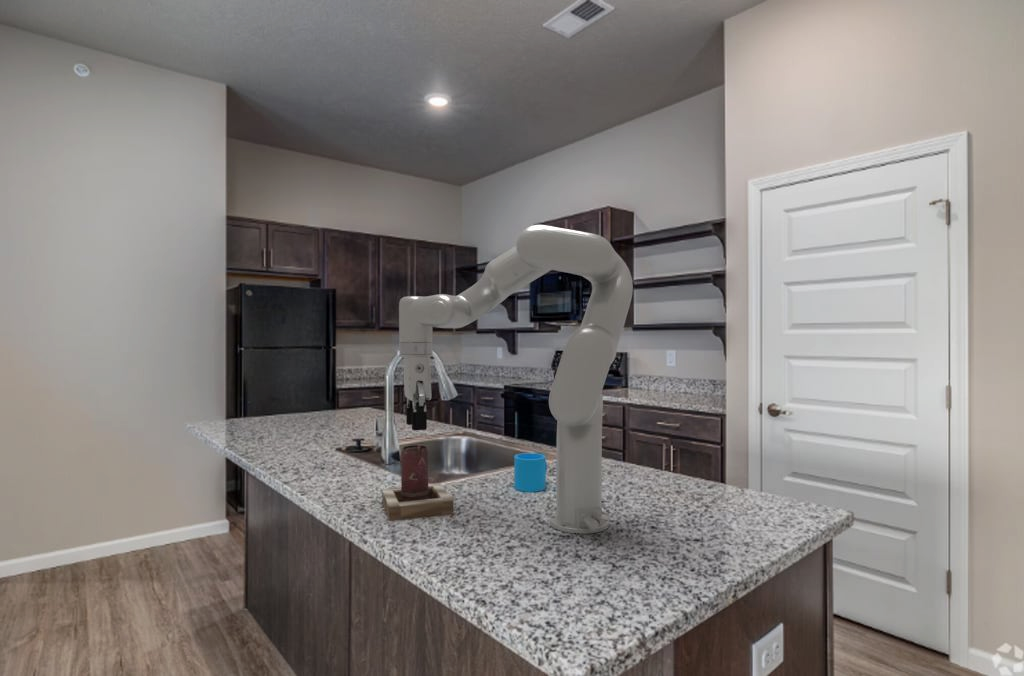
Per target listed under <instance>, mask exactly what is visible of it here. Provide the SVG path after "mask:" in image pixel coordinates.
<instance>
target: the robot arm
mask: <svg viewBox="0 0 1024 676" xmlns="http://www.w3.org/2000/svg"><path fill="white" fill-rule="evenodd" d="M552 270H553V271H557V272H563V273H568V274H572V275H577V276H581V277H583V278H584V279H586V280H588V281H589V282H590V283H591V294H590V297H589V299H588V302H587V305H586V308H585V313H584V315H583V318H582V320H581V324H580V326H579V328H577V329H576V330H575V331H573V332H572V333H571V334H570V336H569V337H568V339H567V341H566V343H565V345H564V348H563V351H562V353H561V357H560V360H559V363H558V366H557V370H556V372H555V375H554V379H553V383H552V384H551V388H550V391H549V396H548V406H549V407H548V408H549V410H550V413H551V415H552V416H553V418H554V419H555V420H556V421H557V422H556V423H557V424H556V512H554V513H552V514H551V515H550V516H549V518H548V519H549V521H548V522H549V525H550V527H552V528H554V529H556V530H558V531H560V532H563V533H567V532H568V534H574V533H576V534H577V533H579V534H577V535H588V534H590V533H591V534H597V533H600V532H603V531H606V530H607V529H608V528H609V527H610V519H609V517H608V516H607V515H605V514H603V513H602V512H603V507H602V505H603V504H602V503H603V499H602V498H603V497H602V496H603V494H602V493H603V491H602V490H603V488H602V487H603V485H602V482H603V481H602V479H603V478H602V477H603V475H602V473H603V472H602V471H603V470H602V468H603V466H602V464H603V461H602V457H603V456H602V453H603V450H602V449H603V448H602V446H603V445H602V444H603V440H602V439H603V436H602V435H603V415H604V414H603V413H604V412H603V411H604V398H603V393H602V391H603V389H604V386H605V384H606V379H607V377H608V374H609V371H610V367H611V365H612V364H613V362H614V361H615V359H616V356H617V352H618V346H619V343H620V340H621V337H622V332H623V331H624V327H625V323H626V320H627V317H628V313H629V309H630V306H631V302H632V297H633V293H634V292H633V291H634V290H633V289H634V286H633V279H632V274H631V272H630V268H629V267H628V266H627V263H626V262H625V261H624V259H623V258H622V257H621V256H620V255H619V254H618V253H617V252H616V251H615V249H614V247H613V246H612V244H611V243H610V242H609V240H608V239H606V238H605V237H603V236H601V235H599V234H596V233H593V232H592V233H591V232H587V231H581V230H575V229H568V228H562V227H558V226H553V225H546V224H533V225H530V226H527V227H526V228H524V229H523V230H522V231H521V232H520V234H519V235H518V237H517V239H516V244H515V246H513V247H511V248H510V249H508V250H507V251H505V252H503V253H502V254H500V255H499V256H497V257H496V258H494V259H492V260H491V261H489V262H488V263H487V264H486V266H485V269H484V272H483V274H482V276H481V278H480V279H479V280H478V281H477V282H476V283H474V284H473V285H472V286H470V287H468V288H467V289H465V290H464V291H462V292H460V293H459V294H458V295H451V294H446V293H441V294H440V293H439V294H438V293H437V294H434V295H428V296H418V295H416V296H415V295H411V296H409V295H407V296H403V297H402V298H400V300H399V305H398V325H399V326H398V329H399V330H398V332H399V334H398V335H399V337H398V341H399V342H398V343H399V344H398V345H399V347H398V348H399V349H398V351H399V352H398V353H399V357H400V358H404V359H403V361H404V362H403V386H404V387H403V391H404V397H405V398H406V408H405V409H406V420H405V421H406V425H408V426H411V430H412V431H414V432H415V431H426V430H427V428H428V426H427V425H428V423H427V422H428V420H427V419H428V418H427V416H428V415H427V404H426V400H427V401H431V400H432V379H431V361H430V357H433V327H434V328H440V329H460V328H464V327H465V326H467V325H470V324H471V323H473V322H475V321H476V320H478V319H479V318H482V317H484V316H485V315H487V314H488V313H489V312H491V311H492V310H493V309H495V308H496V307H497V306H499V305H500V304H502V302H504V301H506V299H507V298H508V297H509V296H511V295H512V294H515V293H516V292H517V291H519V290H521V289H522V288H524V287H526V286H528V285H529V284H531V283H532V282H533V281H535V280H537V279H538V278H540V277H542V276H544V275H545V274H547V273H549V272H550V271H552ZM576 534H575V535H576Z"/></svg>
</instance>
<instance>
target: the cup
mask: <svg viewBox="0 0 1024 676" xmlns="http://www.w3.org/2000/svg"><path fill="white" fill-rule="evenodd" d="M428 450H429V449H428V448H427V446H426V445H422V444H418V445H417V444H416V445H415V444H413V445H407V446H404V447H402V450H401V451H400V453H401V454H400V455H401V456H400V457H401V461H400V462H401V468H400V470H401V471H400V473H401V474H400V475H401V476H400V477H401V478H400V479H401V483H400V484H401V502H406V501H416V500H426V499H428V485H429V451H428Z"/></svg>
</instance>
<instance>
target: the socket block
mask: <svg viewBox="0 0 1024 676" xmlns="http://www.w3.org/2000/svg"><path fill="white" fill-rule="evenodd" d="M381 494H382V495H381V497H382V498H381V499H382V500H381V502H382V506H383V508H384V511H385V514H386V517H387V519H388V521H391V522H393V521H402V520H411V519H422V518H430V517H441V516H450V515H452V516H453V515H454V498H453V497H452V496H451V495H450V494H449V493H448V491H447V490H446V489H445V488H444V486H443V485H442V484H441V483H433V484H428V499H426V500H416V501H406V502H401V487H391V488H382V489H381Z"/></svg>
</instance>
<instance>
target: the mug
mask: <svg viewBox="0 0 1024 676" xmlns="http://www.w3.org/2000/svg"><path fill="white" fill-rule="evenodd" d="M513 458H514V459H513V461H514V469H513V470H514V472H513V473H514V477H513V478H514V479H513V481H514V483H513V484H514V486H513V487H514V489H515V490H517V491H518V492H519V491H520V492H525V493H526V492H527V493H528V492H529V493H535V492H541V491H544V490H545V489H546V484H547V483H546V482H547V481H546V475H547V469H548V465H547V463H548V462H547V461H546V455H545V454H541V453H536V452H533V453H532V452H524V453H518V454H517V453H516V454H515V455H514V457H513Z"/></svg>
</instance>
